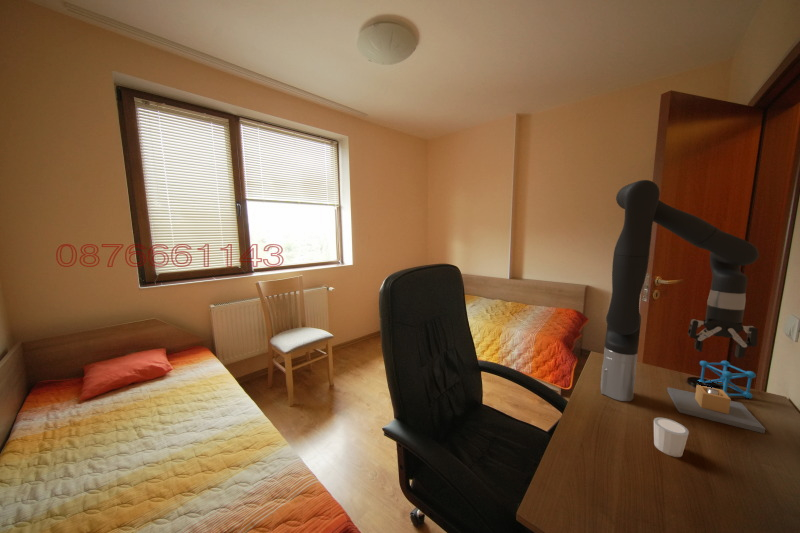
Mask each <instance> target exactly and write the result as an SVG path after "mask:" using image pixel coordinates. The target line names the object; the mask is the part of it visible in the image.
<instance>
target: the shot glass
mask: <svg viewBox="0 0 800 533" xmlns="http://www.w3.org/2000/svg"><path fill="white" fill-rule="evenodd" d="M689 434H690V431H689V429H688V428H687V427H686V426H684V425H683V424H681V423H679V422H677V421H675V420H673V419H671V418H666V417H655V418H654V419H653V444H654V447H655V448H656V449H657V450H659V451H660V452H662V453H664V454H665V455H668V456H671V457H674V458H681V457H683V453H684V450H685V447H686V445H687V441H688V438H689V437H688V436H689Z"/></svg>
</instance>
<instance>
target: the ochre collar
mask: <svg viewBox="0 0 800 533" xmlns="http://www.w3.org/2000/svg"><path fill="white" fill-rule="evenodd" d="M711 387H712V386H711ZM711 387H707V386H701V385H699V384H696V387H695V393H696V394H695V399H696V400H697V402H698V403H699V405H700V406H701V408H705V409H710V410H714V411H718V412H722V413H726V414H729V408H730V401H732V399H731V397H728V396H727V394H726V393H725V392H724V391H723V389H720V388H715V387H713V388H712V389H715V390H717V391H719V392H718V395H714V394H710V393H707V389H708V388H711Z"/></svg>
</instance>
